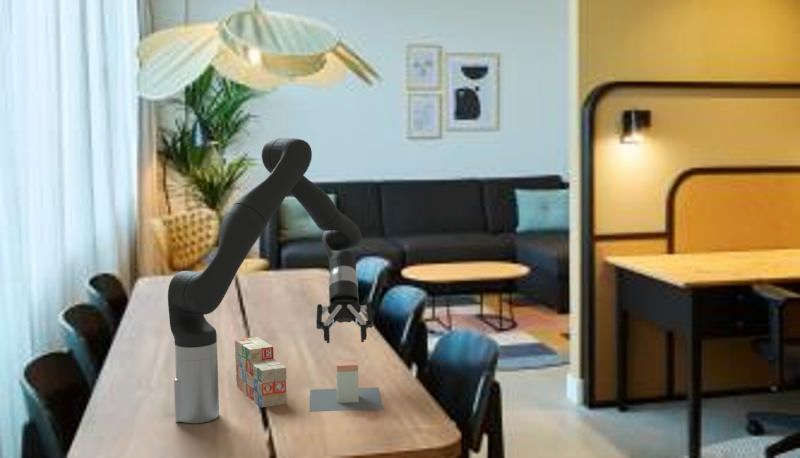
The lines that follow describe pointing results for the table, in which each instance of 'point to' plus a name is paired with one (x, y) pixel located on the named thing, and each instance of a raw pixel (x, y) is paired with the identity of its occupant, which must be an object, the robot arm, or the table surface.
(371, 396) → the charcoal mat
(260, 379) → the stack of blocks
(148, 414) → the table surface
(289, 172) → the robot arm
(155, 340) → the table surface
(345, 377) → the sage block
